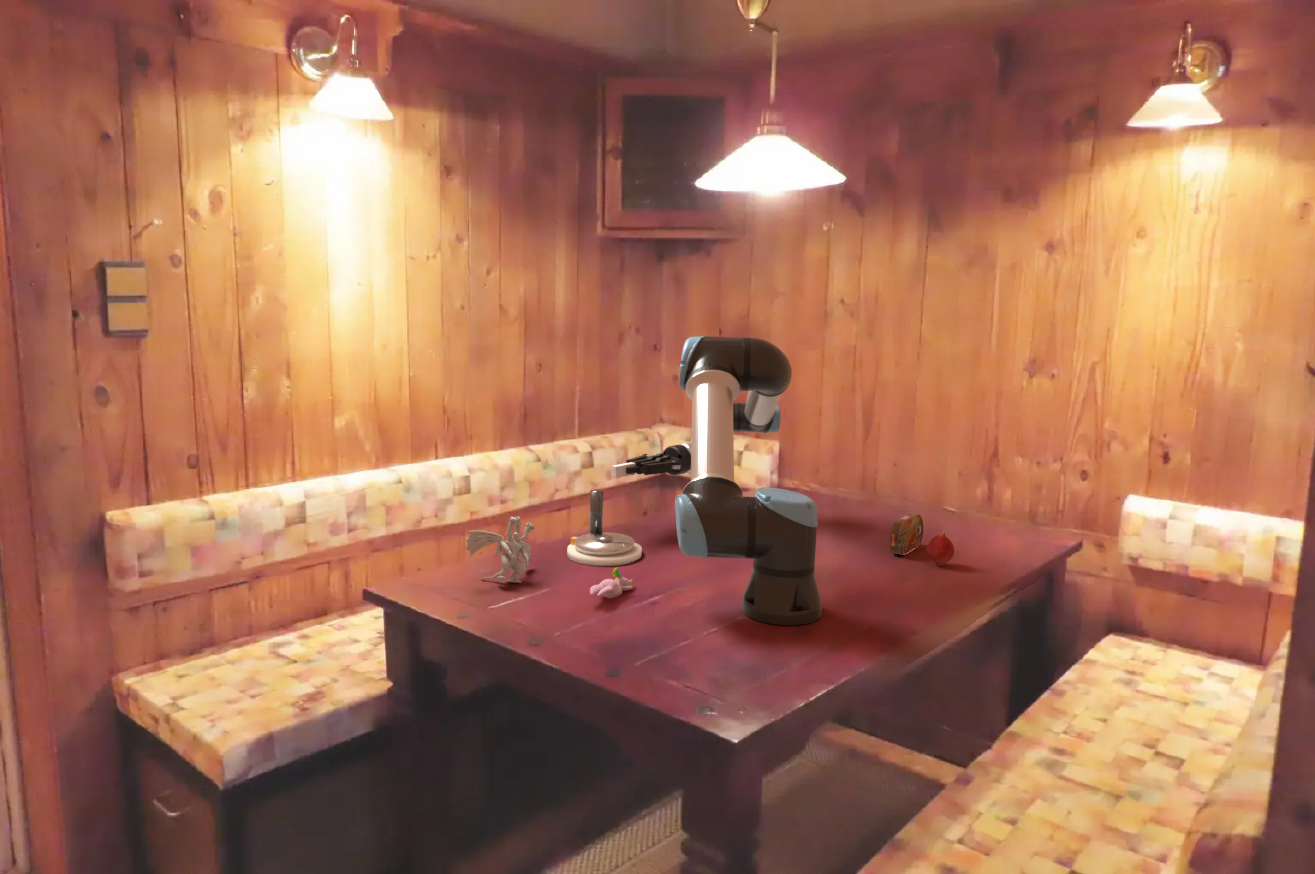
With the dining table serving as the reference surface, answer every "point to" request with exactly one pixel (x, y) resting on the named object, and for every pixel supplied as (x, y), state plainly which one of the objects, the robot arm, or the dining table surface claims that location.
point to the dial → (602, 533)
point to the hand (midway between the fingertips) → (613, 471)
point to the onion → (940, 549)
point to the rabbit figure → (612, 586)
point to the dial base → (603, 560)
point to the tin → (906, 534)
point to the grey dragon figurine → (505, 548)
